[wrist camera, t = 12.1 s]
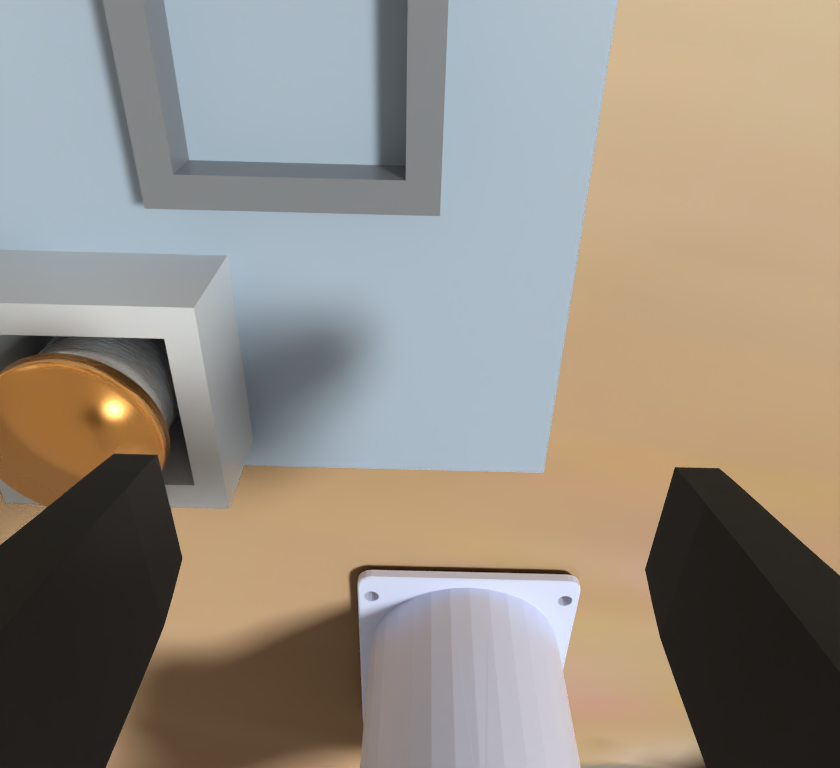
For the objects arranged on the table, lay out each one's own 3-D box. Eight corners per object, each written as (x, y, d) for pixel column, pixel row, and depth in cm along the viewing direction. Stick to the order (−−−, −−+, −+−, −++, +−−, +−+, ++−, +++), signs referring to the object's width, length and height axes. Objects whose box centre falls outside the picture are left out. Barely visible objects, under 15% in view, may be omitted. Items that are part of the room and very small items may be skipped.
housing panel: (540, 460, 22) (558, 543, 19) (-146, 443, 22) (-238, 524, 19) (639, -183, 13) (701, -219, 10) (-501, -214, 13) (-780, -261, 10)
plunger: (214, 427, 20) (175, 517, 17) (70, 423, 20) (3, 512, 17) (191, 295, 18) (141, 372, 14) (28, 292, 18) (-58, 367, 14)
